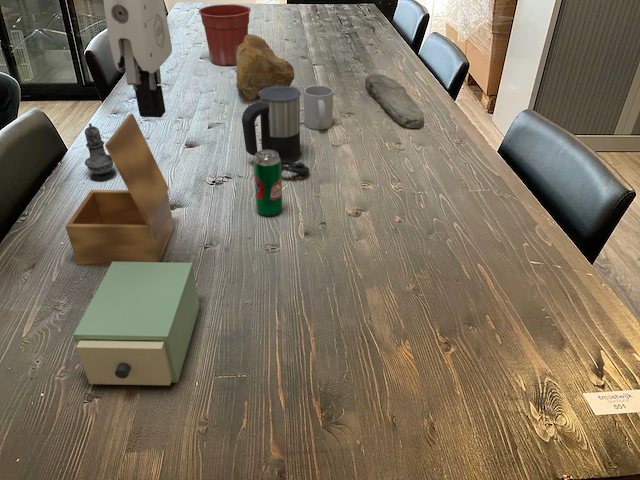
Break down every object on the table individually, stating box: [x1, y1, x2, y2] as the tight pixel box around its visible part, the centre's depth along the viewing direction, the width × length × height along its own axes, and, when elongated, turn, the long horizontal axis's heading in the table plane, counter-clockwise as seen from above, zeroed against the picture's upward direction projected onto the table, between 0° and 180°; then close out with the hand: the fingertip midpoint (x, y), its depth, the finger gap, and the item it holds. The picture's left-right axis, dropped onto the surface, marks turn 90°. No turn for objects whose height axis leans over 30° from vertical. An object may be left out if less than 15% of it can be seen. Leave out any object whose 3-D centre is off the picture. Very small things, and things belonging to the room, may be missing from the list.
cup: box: [303, 85, 334, 131], centre depth 135 cm, size 7×10×9 cm
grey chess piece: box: [84, 122, 117, 183], centre depth 113 cm, size 6×6×12 cm
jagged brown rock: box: [235, 33, 295, 101], centre depth 153 cm, size 23×17×15 cm
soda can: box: [252, 149, 284, 217], centre depth 102 cm, size 5×5×12 cm
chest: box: [65, 189, 175, 266], centre depth 93 cm, size 14×12×8 cm
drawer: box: [75, 339, 172, 386], centre depth 72 cm, size 15×10×7 cm
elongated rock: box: [364, 73, 425, 129], centre depth 149 cm, size 35×5×10 cm
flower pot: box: [198, 3, 252, 67], centre depth 176 cm, size 16×16×16 cm
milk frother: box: [241, 86, 310, 176], centre depth 117 cm, size 14×16×15 cm
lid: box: [104, 113, 170, 226], centre depth 87 cm, size 14×12×1 cm
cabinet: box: [72, 261, 201, 384], centre depth 74 cm, size 15×12×9 cm
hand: (153, 114), depth 76 cm, fingers closed
